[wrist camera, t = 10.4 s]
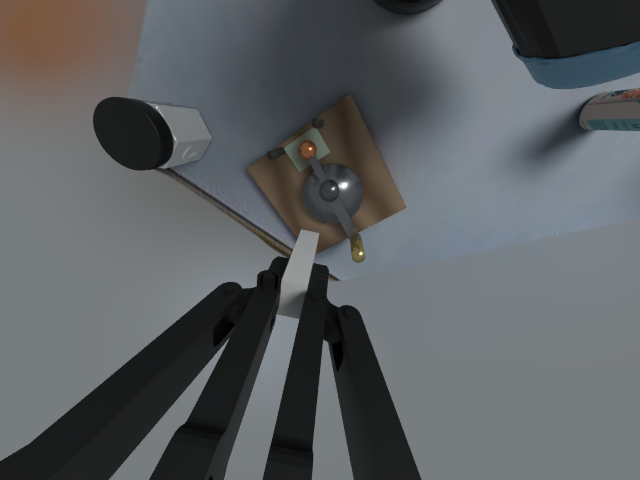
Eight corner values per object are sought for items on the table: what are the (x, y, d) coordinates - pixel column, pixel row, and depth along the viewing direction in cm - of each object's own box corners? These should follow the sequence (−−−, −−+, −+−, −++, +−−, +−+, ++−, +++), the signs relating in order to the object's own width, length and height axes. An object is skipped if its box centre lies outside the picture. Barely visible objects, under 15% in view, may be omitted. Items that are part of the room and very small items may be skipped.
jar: (196, 170, 41) (146, 186, 30) (154, 138, 39) (83, 143, 28) (220, 127, 37) (172, 129, 27) (174, 90, 35) (103, 75, 25)
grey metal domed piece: (278, 156, 37) (264, 164, 30) (333, 122, 34) (331, 122, 27) (333, 249, 44) (332, 273, 37) (382, 228, 41) (391, 249, 34)
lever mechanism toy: (349, 94, 34) (352, 86, 27) (404, 204, 41) (417, 220, 34) (249, 167, 40) (231, 176, 33) (311, 253, 47) (307, 274, 40)
